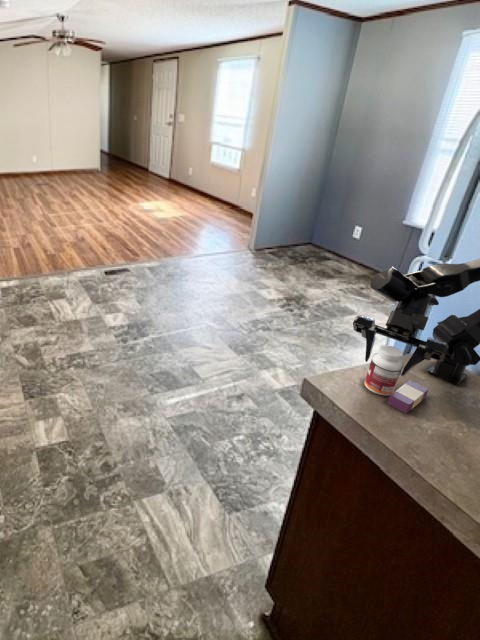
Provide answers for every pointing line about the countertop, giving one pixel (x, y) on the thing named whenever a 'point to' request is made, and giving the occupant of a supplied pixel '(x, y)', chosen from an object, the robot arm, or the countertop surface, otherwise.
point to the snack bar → (407, 396)
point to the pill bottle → (384, 370)
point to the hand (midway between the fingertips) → (383, 368)
